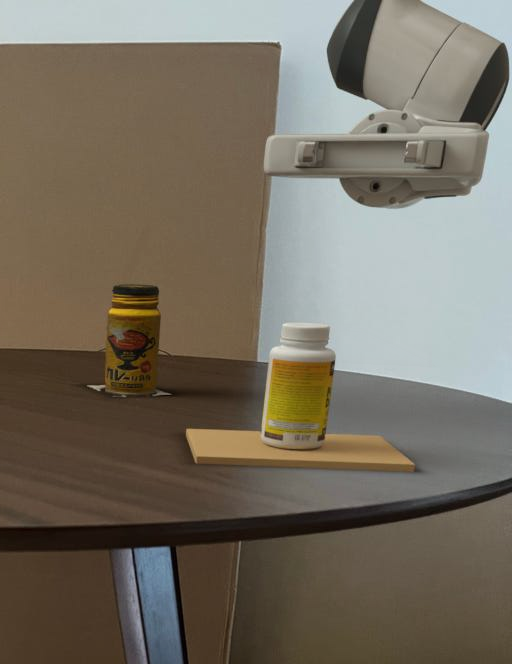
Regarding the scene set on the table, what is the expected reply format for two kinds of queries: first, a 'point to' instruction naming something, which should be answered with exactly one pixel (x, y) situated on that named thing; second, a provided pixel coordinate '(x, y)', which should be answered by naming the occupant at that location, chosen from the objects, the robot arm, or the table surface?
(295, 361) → the supplement bottle
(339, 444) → the wooden board
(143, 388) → the condiment
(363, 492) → the table surface
